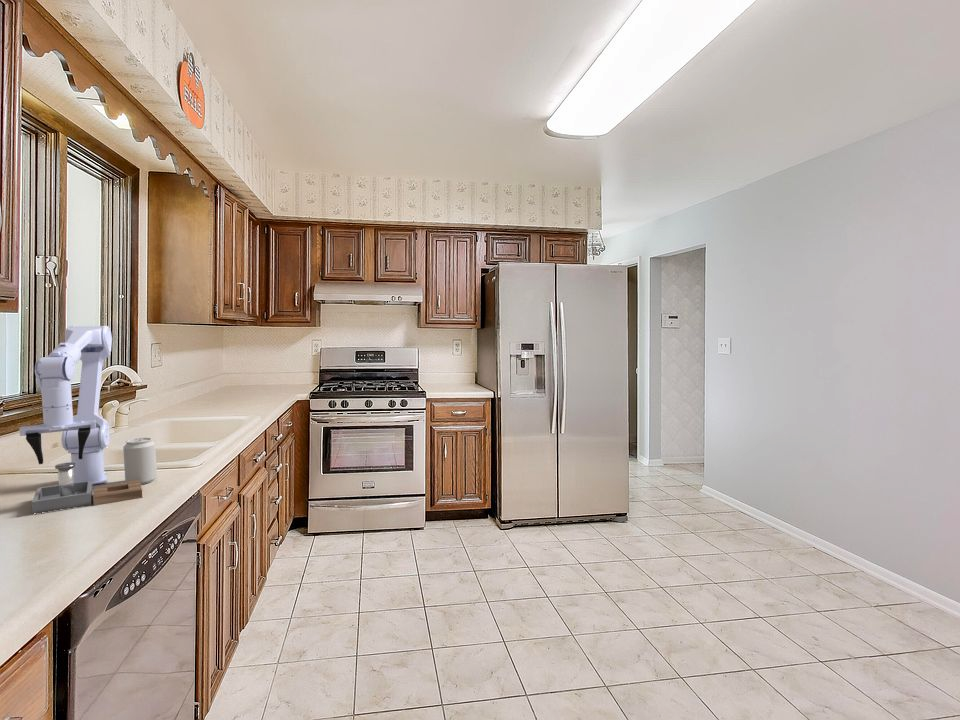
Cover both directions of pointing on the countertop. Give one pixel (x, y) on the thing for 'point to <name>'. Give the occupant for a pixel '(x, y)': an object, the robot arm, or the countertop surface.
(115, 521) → the countertop surface
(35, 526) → the countertop surface
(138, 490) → the hitch block
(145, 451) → the can
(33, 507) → the tray
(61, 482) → the pin
